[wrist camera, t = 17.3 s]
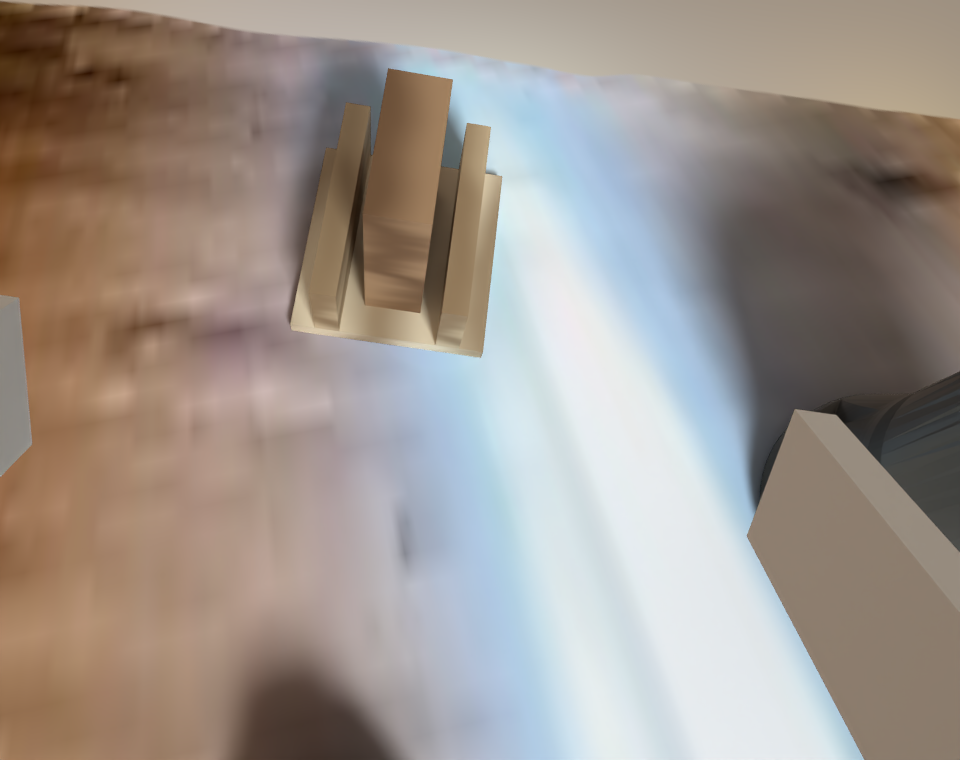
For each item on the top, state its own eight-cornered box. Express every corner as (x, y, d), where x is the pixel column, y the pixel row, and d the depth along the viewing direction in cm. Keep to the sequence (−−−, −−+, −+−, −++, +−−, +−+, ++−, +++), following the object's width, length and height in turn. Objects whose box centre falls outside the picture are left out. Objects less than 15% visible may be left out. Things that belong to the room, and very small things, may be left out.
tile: (437, 191, 53) (452, 79, 43) (420, 313, 50) (432, 224, 40) (385, 183, 53) (388, 68, 42) (364, 305, 50) (362, 213, 39)
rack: (500, 184, 55) (514, 130, 49) (480, 357, 50) (494, 320, 45) (326, 156, 54) (321, 98, 48) (291, 330, 49) (281, 289, 44)
